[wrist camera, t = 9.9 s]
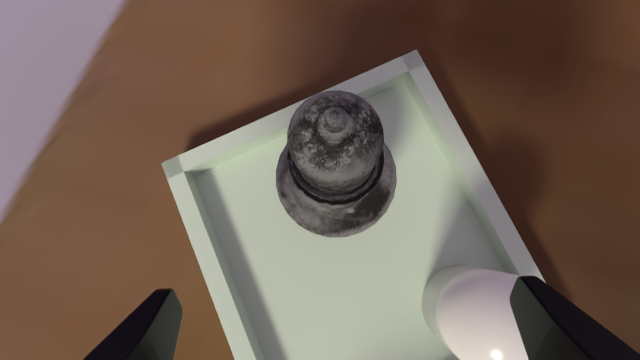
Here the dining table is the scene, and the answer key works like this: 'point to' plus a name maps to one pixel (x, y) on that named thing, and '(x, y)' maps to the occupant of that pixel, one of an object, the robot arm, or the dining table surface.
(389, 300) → the tray
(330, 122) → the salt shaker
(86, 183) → the dining table surface
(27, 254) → the dining table surface
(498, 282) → the white smooth curved piece
